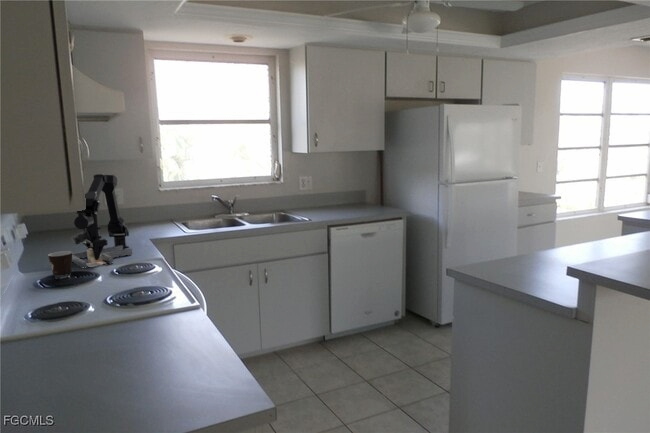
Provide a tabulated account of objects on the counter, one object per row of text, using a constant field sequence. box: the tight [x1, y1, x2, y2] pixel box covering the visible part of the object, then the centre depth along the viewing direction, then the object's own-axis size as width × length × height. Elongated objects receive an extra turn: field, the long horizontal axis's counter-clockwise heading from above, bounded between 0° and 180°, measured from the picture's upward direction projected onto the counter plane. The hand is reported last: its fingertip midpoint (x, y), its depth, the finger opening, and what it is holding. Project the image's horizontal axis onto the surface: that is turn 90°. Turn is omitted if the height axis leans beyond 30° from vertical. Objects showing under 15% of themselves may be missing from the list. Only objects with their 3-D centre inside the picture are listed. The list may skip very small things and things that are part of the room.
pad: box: [86, 260, 107, 265], centre depth 213 cm, size 7×8×1 cm
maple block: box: [86, 247, 103, 263], centre depth 212 cm, size 4×4×6 cm
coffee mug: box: [47, 250, 73, 275], centre depth 192 cm, size 12×9×10 cm
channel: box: [72, 245, 133, 268], centre depth 222 cm, size 22×25×3 cm
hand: (94, 259), depth 212 cm, fingers closed on maple block, 4 cm apart
